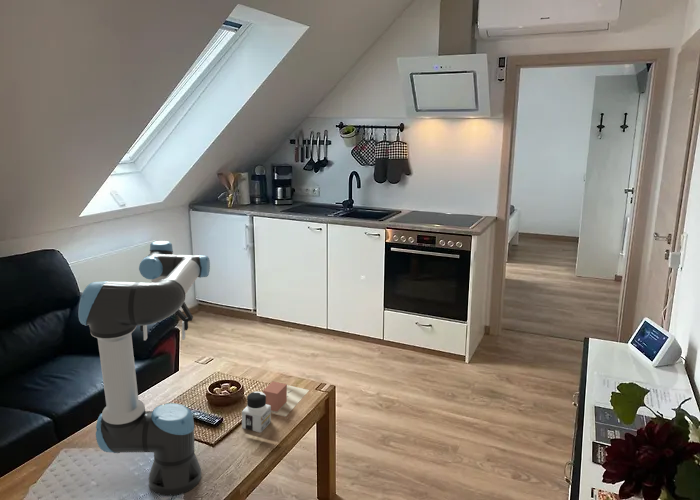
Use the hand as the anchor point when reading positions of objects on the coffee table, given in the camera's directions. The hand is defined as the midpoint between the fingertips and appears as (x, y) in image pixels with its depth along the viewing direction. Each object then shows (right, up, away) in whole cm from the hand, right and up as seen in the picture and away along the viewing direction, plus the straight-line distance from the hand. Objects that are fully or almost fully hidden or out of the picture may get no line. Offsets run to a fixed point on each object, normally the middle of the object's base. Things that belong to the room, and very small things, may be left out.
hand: (164, 338), depth 198 cm
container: (+35, -31, -5) cm, 47 cm away
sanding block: (+40, -27, +7) cm, 49 cm away
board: (+42, -27, +13) cm, 51 cm away
